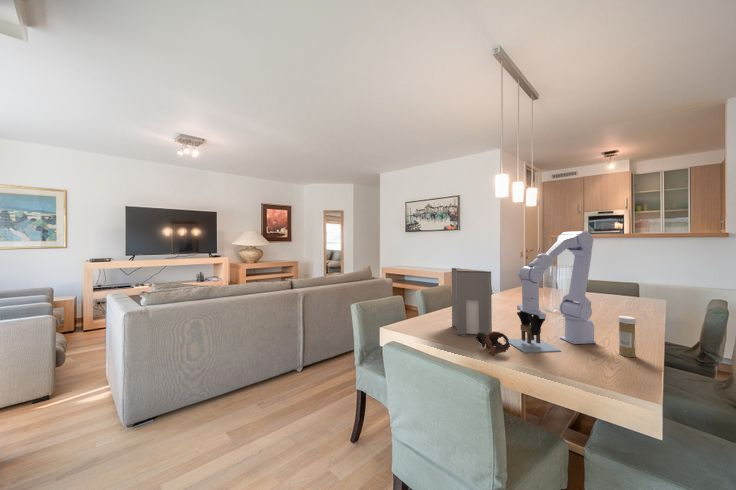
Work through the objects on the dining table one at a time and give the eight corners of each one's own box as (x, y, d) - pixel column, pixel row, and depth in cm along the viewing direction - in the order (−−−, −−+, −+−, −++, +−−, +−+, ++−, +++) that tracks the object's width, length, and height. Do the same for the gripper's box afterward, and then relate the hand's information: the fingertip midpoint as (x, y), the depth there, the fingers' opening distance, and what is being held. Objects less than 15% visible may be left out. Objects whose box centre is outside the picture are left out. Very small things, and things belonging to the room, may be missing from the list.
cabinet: (491, 338, 125) (491, 271, 124) (476, 342, 120) (475, 272, 119) (454, 326, 143) (454, 267, 142) (439, 329, 138) (438, 269, 138)
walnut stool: (532, 339, 118) (532, 324, 118) (541, 343, 113) (540, 327, 113) (520, 339, 117) (520, 324, 117) (528, 344, 112) (528, 328, 112)
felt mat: (536, 339, 122) (536, 338, 122) (561, 351, 109) (561, 350, 109) (503, 340, 121) (503, 339, 121) (524, 353, 107) (524, 351, 107)
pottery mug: (510, 350, 112) (514, 334, 108) (503, 368, 105) (507, 353, 101) (477, 337, 118) (480, 322, 114) (469, 353, 112) (472, 338, 107)
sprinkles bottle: (639, 356, 103) (639, 318, 102) (629, 358, 102) (628, 319, 101) (625, 352, 107) (625, 315, 107) (615, 353, 106) (615, 315, 106)
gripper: (510, 294, 122) (510, 327, 122) (532, 301, 107) (532, 339, 107) (526, 294, 122) (526, 327, 122) (551, 301, 108) (551, 338, 108)
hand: (530, 332), depth 115 cm, fingers closed on walnut stool, 5 cm apart
